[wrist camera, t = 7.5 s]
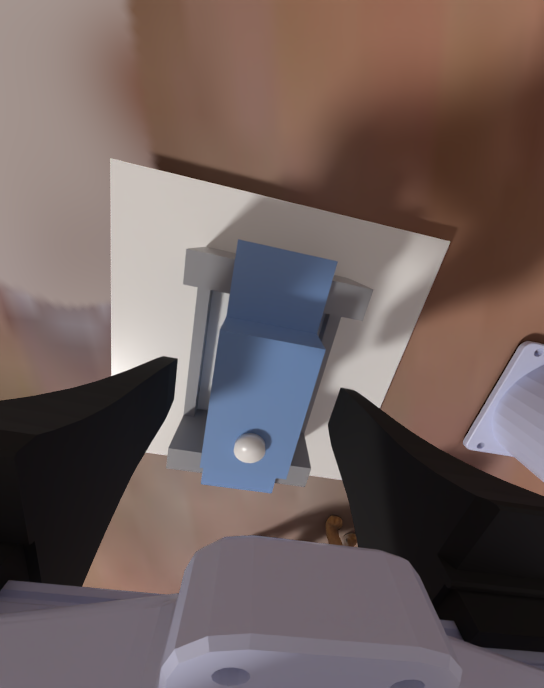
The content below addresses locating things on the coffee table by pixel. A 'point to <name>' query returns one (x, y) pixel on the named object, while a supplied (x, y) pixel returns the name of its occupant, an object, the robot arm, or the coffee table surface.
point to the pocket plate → (214, 290)
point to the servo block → (264, 366)
